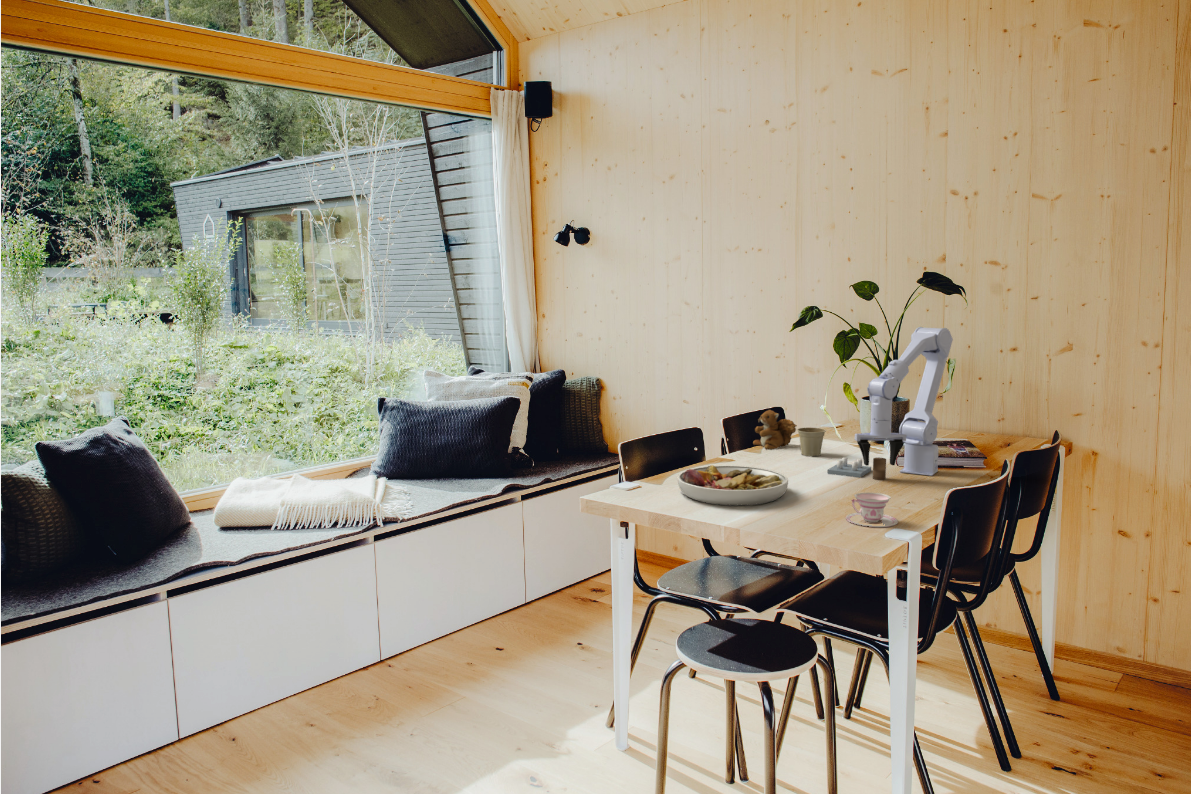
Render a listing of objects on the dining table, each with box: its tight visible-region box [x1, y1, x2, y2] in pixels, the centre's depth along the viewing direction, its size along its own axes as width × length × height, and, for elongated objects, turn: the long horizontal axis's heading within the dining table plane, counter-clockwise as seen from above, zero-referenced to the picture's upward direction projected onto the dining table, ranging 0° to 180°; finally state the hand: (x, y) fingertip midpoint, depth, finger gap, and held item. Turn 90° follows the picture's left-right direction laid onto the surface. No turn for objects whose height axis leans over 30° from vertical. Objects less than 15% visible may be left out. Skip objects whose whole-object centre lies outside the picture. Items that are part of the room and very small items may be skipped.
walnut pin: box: [872, 457, 887, 481], centre depth 242 cm, size 4×4×6 cm
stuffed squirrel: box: [752, 409, 798, 450], centre depth 293 cm, size 10×14×13 cm
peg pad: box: [827, 457, 872, 478], centre depth 252 cm, size 10×11×4 cm
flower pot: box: [796, 426, 827, 457], centre depth 277 cm, size 9×9×9 cm
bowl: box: [677, 464, 789, 506], centre depth 227 cm, size 30×30×8 cm
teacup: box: [845, 492, 899, 528], centre depth 199 cm, size 12×12×6 cm
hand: (879, 464), depth 242 cm, fingers open, 7 cm apart
